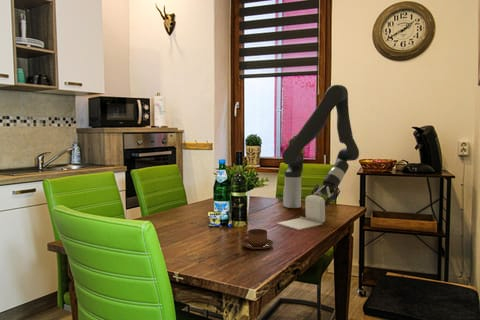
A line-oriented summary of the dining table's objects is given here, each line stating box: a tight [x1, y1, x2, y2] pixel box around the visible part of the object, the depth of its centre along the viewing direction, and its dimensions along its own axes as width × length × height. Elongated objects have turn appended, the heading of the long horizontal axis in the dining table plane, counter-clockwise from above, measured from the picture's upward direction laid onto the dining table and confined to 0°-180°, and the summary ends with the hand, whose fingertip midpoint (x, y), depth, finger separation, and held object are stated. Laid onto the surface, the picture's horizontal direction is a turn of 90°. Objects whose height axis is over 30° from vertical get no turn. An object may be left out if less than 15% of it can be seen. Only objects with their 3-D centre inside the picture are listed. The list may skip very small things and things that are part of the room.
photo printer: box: [304, 194, 326, 223], centre depth 195 cm, size 10×4×12 cm, turn 39°
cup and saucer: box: [241, 228, 274, 250], centre depth 155 cm, size 12×12×6 cm
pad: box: [276, 216, 324, 231], centre depth 189 cm, size 14×16×1 cm
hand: (318, 203), depth 196 cm, fingers open, 8 cm apart
